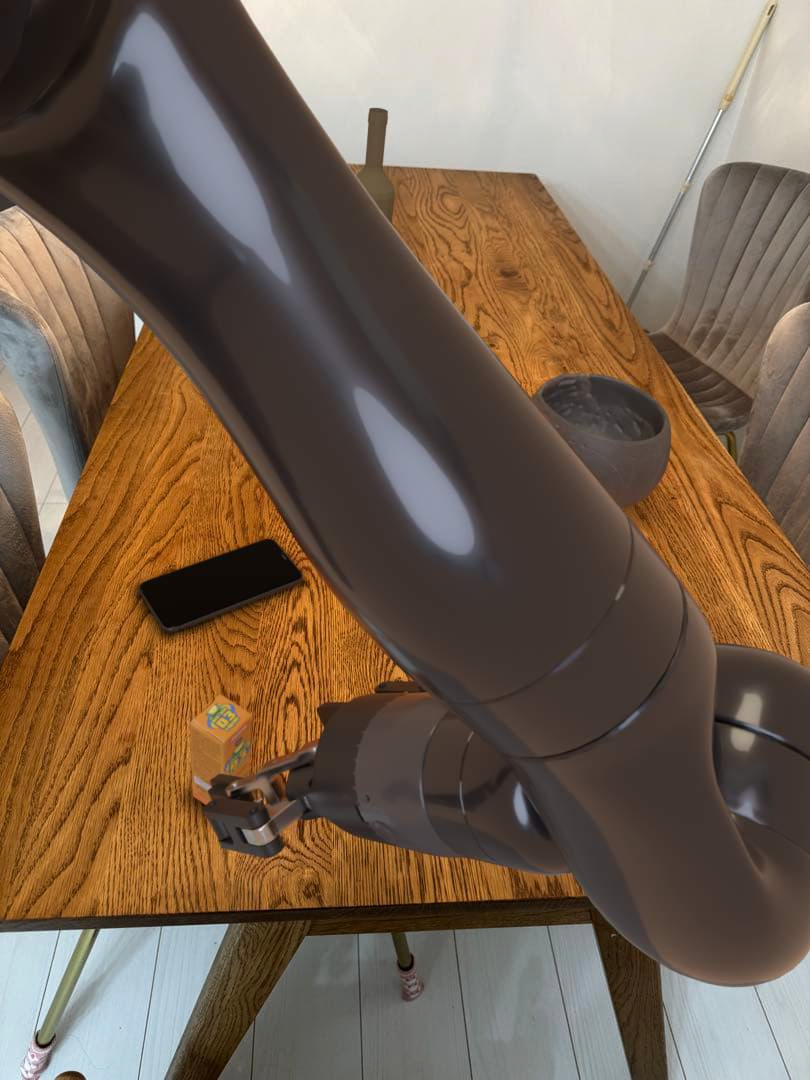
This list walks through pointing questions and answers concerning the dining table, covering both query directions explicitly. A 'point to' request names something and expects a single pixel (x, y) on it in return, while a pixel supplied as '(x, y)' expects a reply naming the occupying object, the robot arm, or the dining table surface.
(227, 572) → the smartphone
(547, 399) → the bowl
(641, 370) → the dining table surface
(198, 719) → the supplement box
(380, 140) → the bottle
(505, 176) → the dining table surface
